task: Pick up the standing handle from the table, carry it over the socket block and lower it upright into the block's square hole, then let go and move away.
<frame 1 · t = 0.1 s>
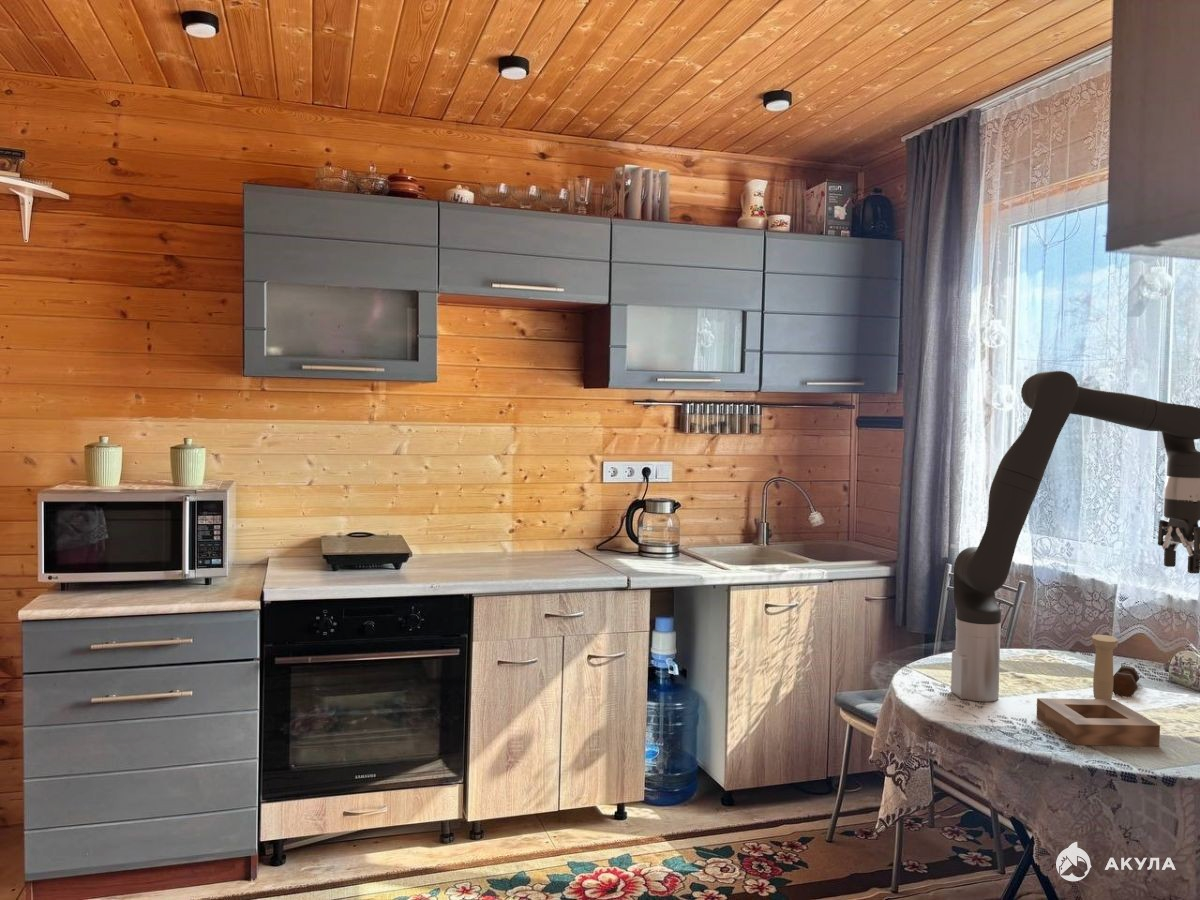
hand: (1181, 569, 203), 29 cm above the table, fingers open, 8 cm apart
socket block: (1095, 731, 183), on the table
dark brown hexagonal dumbbell: (1126, 689, 212), on the table
handle: (1102, 707, 199), on the table
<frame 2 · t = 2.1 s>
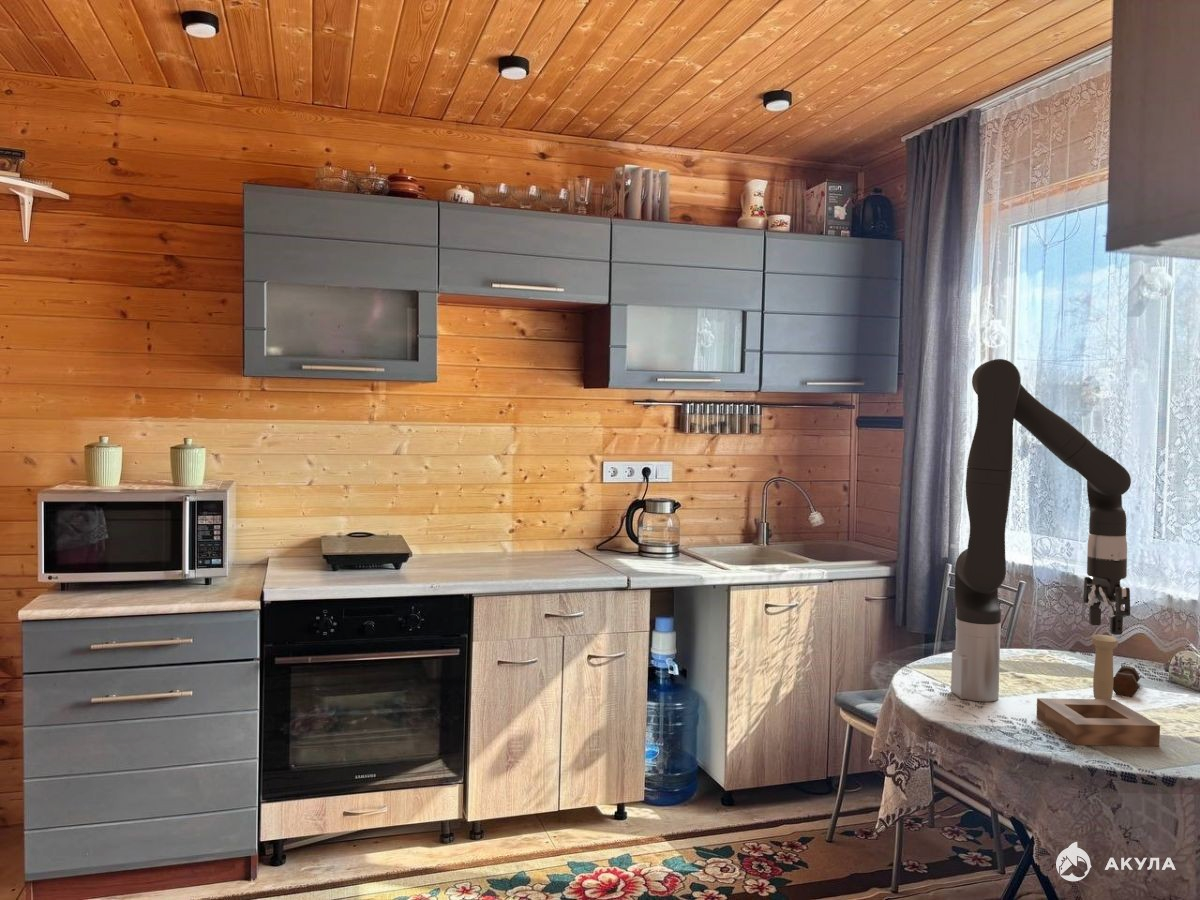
hand: (1105, 629, 198), 17 cm above the table, fingers open, 8 cm apart
nothing on the table moved.
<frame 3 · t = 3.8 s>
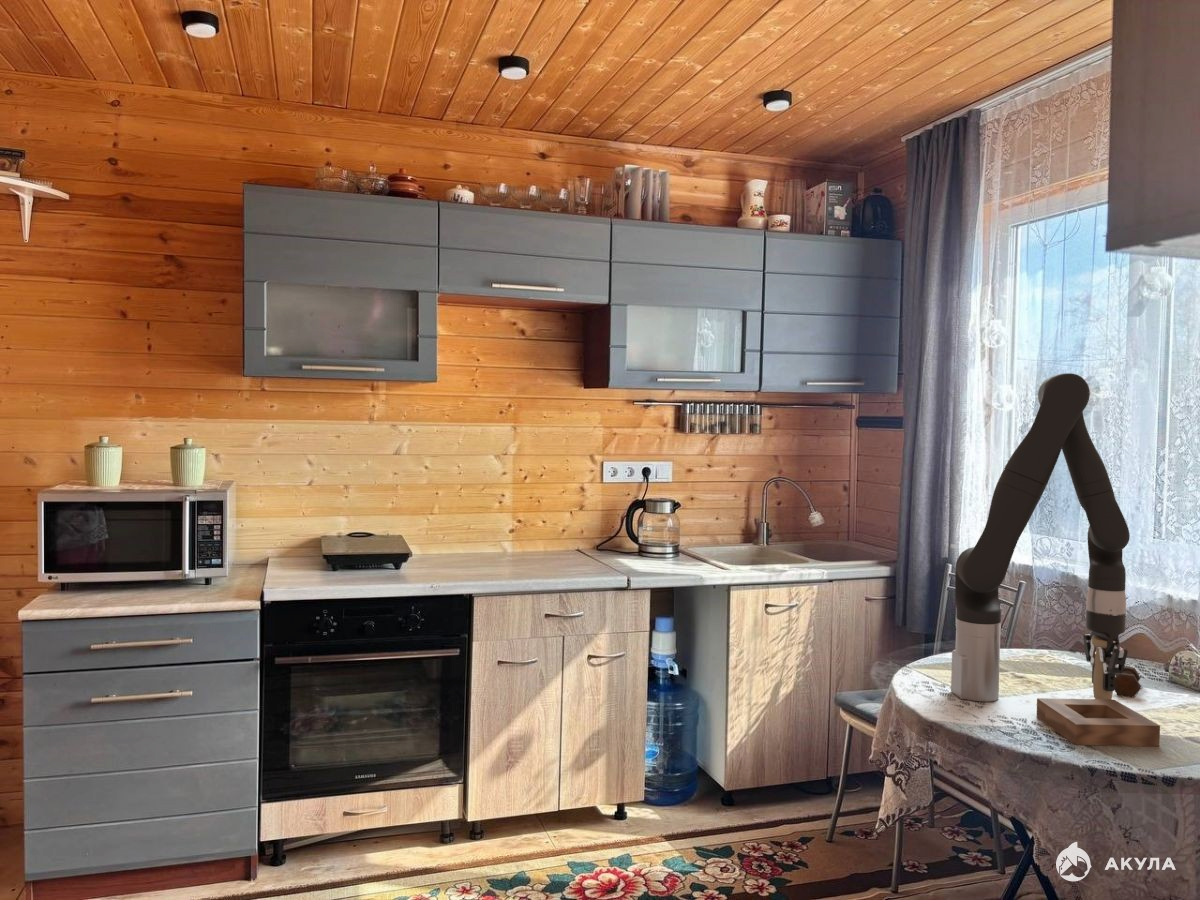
hand: (1103, 687, 198), 4 cm above the table, fingers closed on handle, 4 cm apart
handle: (1102, 707, 199), on the table, touching gripper
everything else where it was.
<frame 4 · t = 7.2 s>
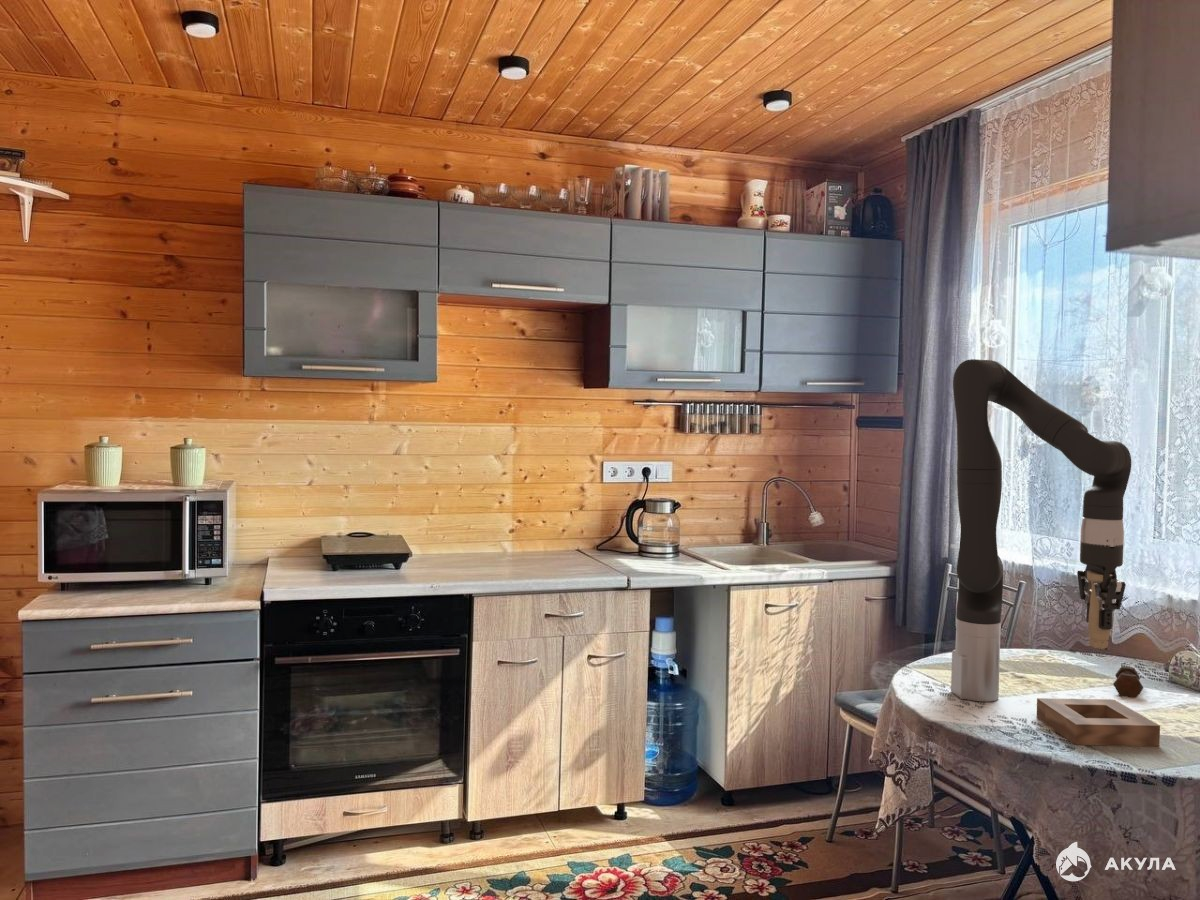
hand: (1098, 626, 182), 21 cm above the table, fingers closed on handle, 4 cm apart
handle: (1098, 648, 182), point 17 cm above the table, touching gripper
everything else where it was.
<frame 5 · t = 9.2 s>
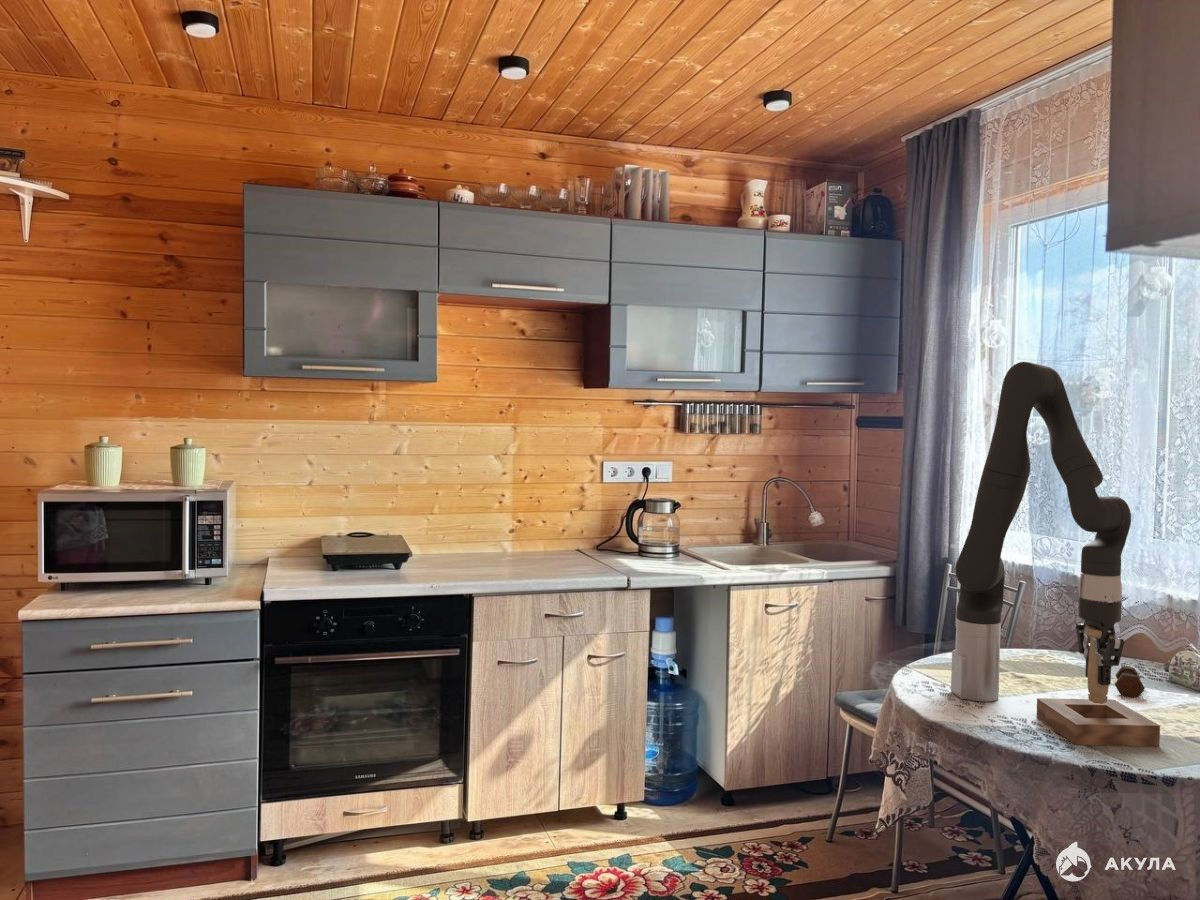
hand: (1097, 680, 182), 10 cm above the table, fingers closed on handle, 4 cm apart
handle: (1097, 702, 183), point 6 cm above the table, touching gripper
everything else where it was.
when the fingers open (6 cm above the table, at t = 10.8 s): handle drops 2 cm, resting in socket block.
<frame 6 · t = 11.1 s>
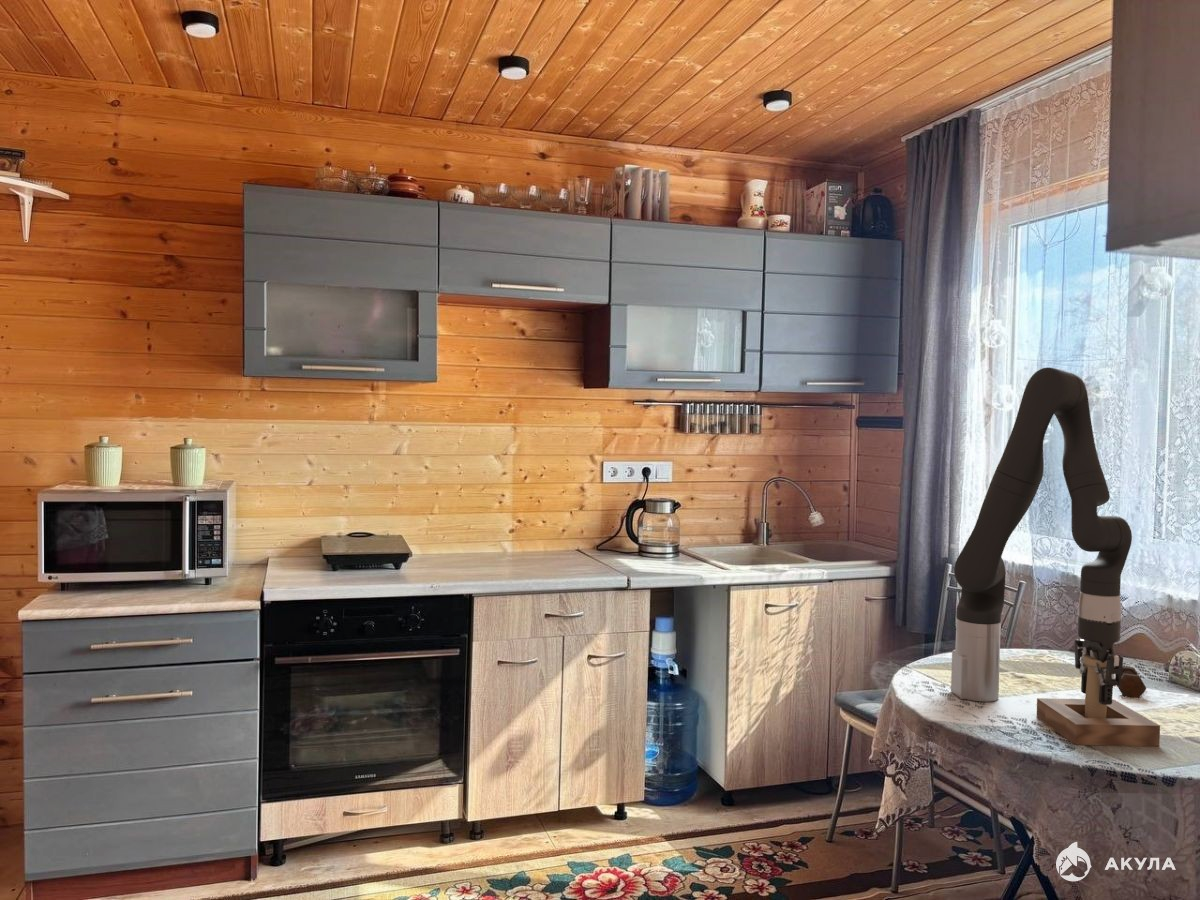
hand: (1096, 698, 183), 7 cm above the table, fingers open, 6 cm apart
handle: (1095, 731, 183), resting in socket block
everything else where it was.
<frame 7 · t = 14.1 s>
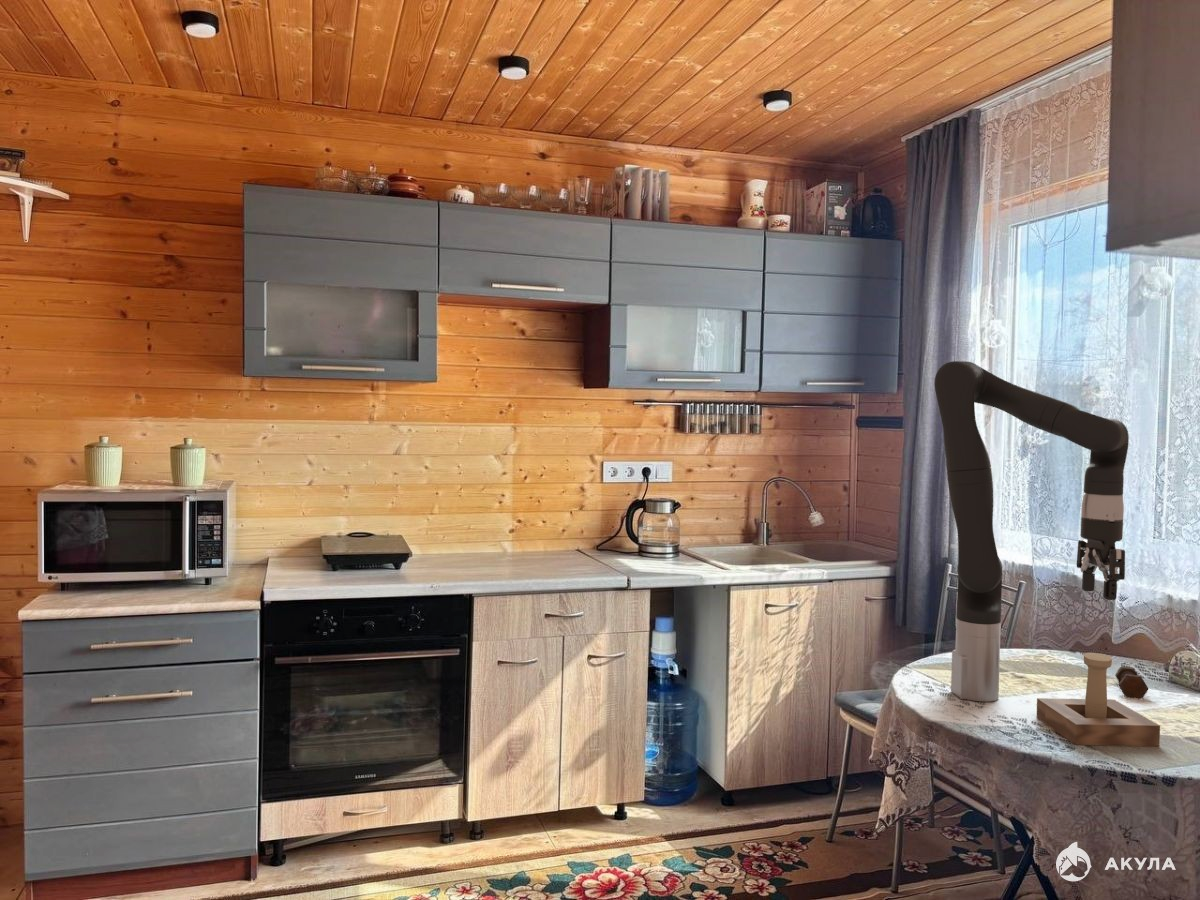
hand: (1098, 595, 186), 27 cm above the table, fingers open, 8 cm apart
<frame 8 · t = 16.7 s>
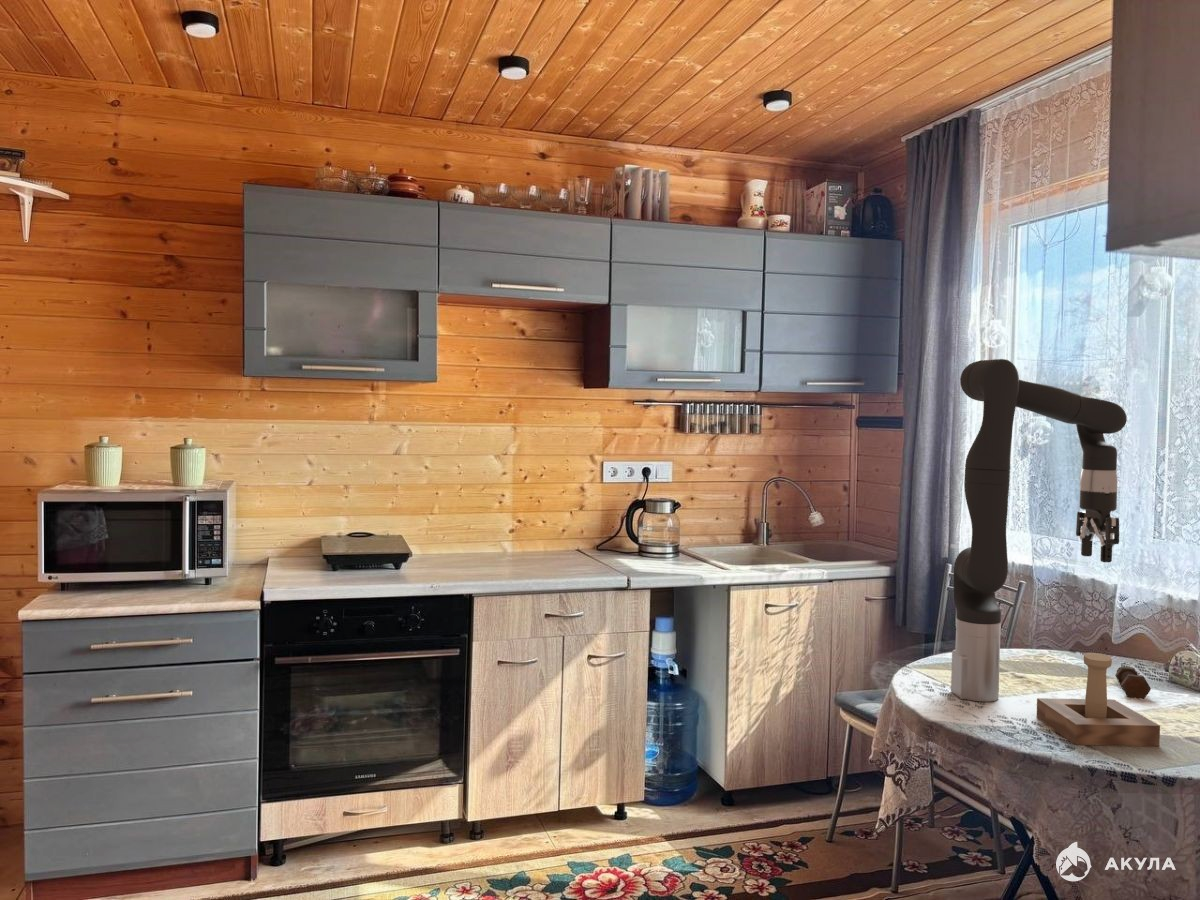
hand: (1096, 559, 211), 30 cm above the table, fingers open, 8 cm apart
at the end: handle 0.1 cm off-centre on the socket block, point 0.0 cm above the socket block's base; handle tilted 0°; the gripper is holding nothing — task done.
